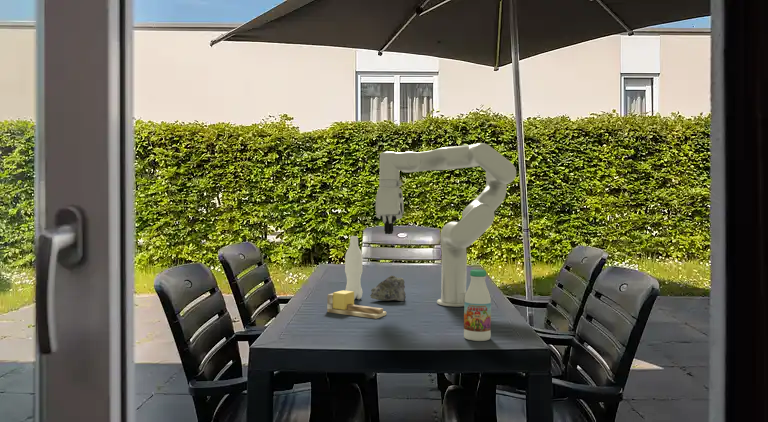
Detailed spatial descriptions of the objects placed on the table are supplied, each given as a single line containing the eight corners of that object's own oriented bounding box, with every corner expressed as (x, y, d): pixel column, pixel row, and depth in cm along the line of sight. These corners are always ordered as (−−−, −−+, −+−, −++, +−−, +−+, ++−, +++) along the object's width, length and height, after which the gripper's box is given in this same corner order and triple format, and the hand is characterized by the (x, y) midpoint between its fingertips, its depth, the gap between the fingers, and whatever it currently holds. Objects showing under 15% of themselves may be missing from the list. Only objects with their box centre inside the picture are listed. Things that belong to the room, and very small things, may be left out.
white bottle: (363, 297, 227) (364, 235, 226) (361, 300, 220) (361, 237, 219) (346, 296, 227) (346, 235, 227) (343, 300, 220) (343, 236, 220)
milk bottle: (461, 335, 167) (462, 268, 166) (486, 334, 167) (487, 268, 167) (467, 341, 159) (468, 271, 159) (493, 341, 160) (494, 271, 159)
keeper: (353, 306, 200) (354, 291, 200) (344, 309, 194) (344, 294, 194) (342, 305, 202) (342, 290, 202) (332, 308, 197) (332, 292, 197)
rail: (386, 315, 194) (386, 297, 194) (376, 318, 188) (376, 300, 187) (338, 308, 204) (338, 291, 203) (327, 312, 198) (327, 294, 197)
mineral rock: (369, 302, 217) (369, 276, 217) (376, 297, 228) (377, 272, 227) (401, 304, 214) (401, 278, 214) (407, 299, 224) (408, 274, 224)
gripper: (411, 185, 210) (411, 234, 210) (377, 185, 217) (376, 232, 217) (402, 184, 203) (401, 235, 203) (367, 184, 210) (366, 233, 211)
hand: (388, 233), depth 210 cm, fingers closed
